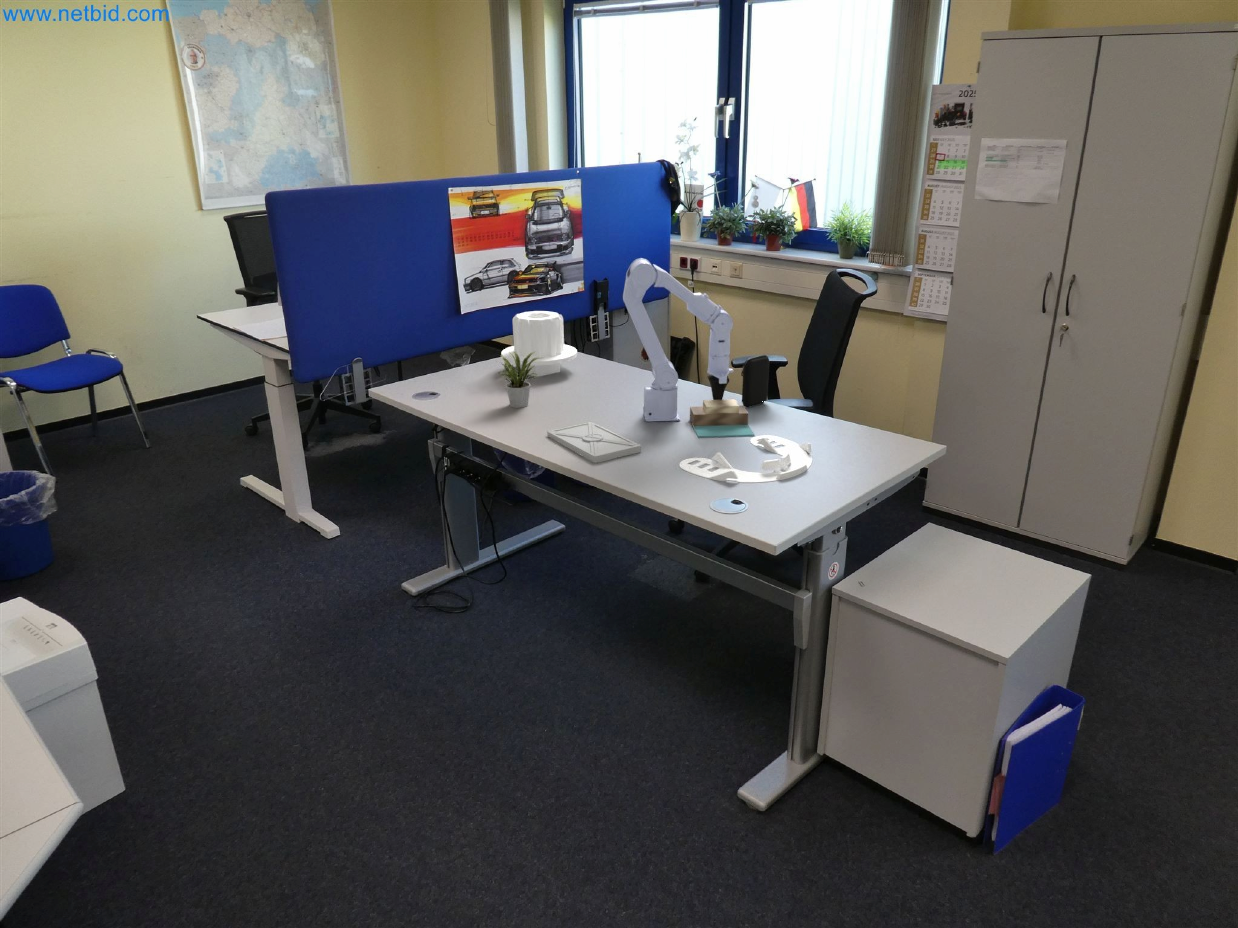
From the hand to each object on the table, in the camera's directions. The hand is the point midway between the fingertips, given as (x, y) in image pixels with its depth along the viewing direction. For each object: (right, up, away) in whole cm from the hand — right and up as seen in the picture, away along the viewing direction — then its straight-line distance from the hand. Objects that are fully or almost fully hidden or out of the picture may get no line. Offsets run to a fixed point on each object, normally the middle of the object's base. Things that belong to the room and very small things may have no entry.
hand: (717, 401), depth 241 cm
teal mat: (0, -9, -11) cm, 14 cm away
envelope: (-34, -13, -19) cm, 41 cm away
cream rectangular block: (0, -3, -5) cm, 6 cm away
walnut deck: (0, -6, -4) cm, 7 cm away
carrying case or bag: (+11, -1, +10) cm, 15 cm away
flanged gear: (-54, +13, +46) cm, 72 cm away
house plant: (-56, 0, +12) cm, 57 cm away
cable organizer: (+6, -18, -31) cm, 36 cm away
